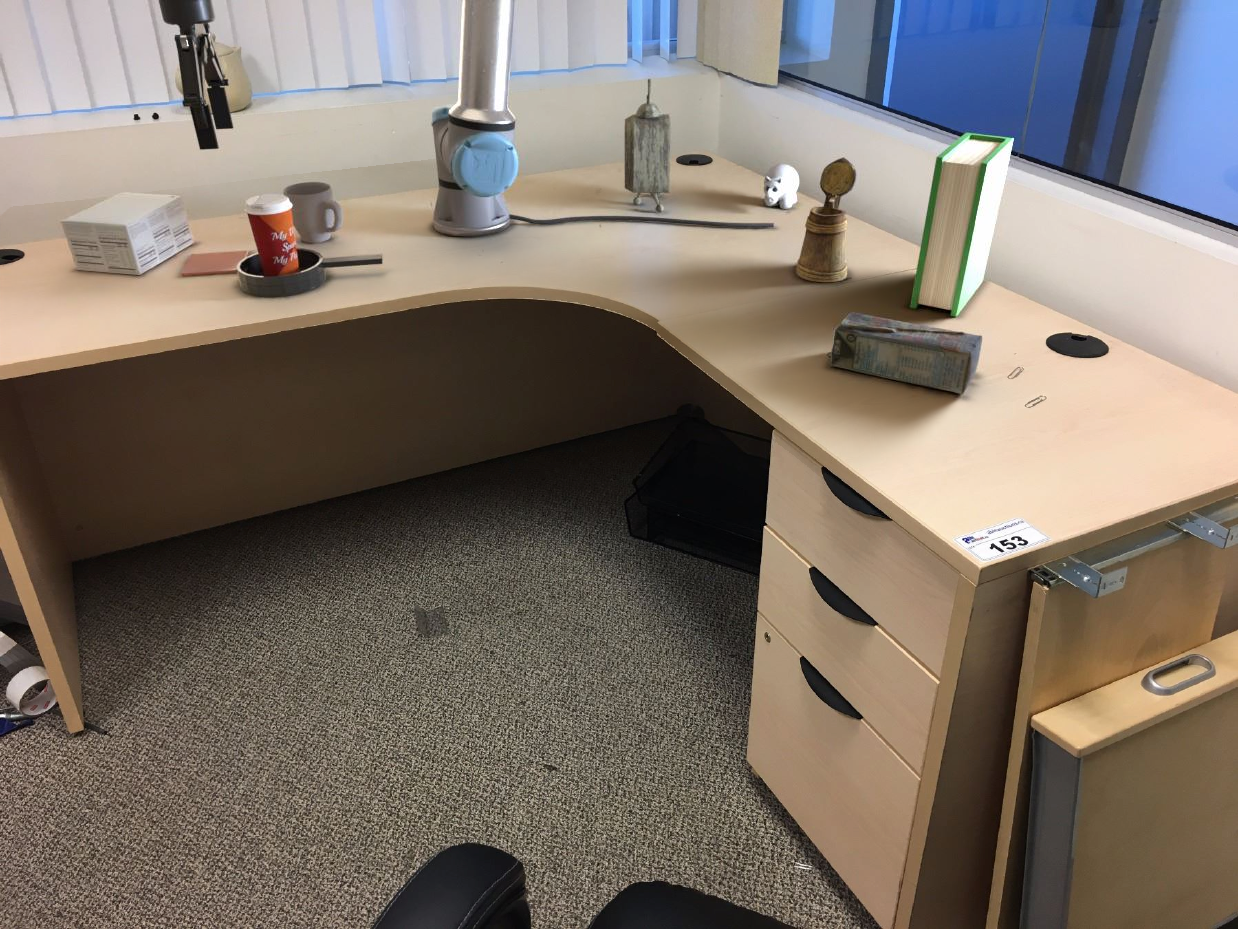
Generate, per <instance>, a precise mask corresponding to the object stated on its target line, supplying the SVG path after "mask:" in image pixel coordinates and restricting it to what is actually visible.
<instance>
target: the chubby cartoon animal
mask: <svg viewBox="0 0 1238 929" xmlns="http://www.w3.org/2000/svg"><path fill="white" fill-rule="evenodd" d="M799 185H800V177H799V174H798V171H797V170H796V169H795V168H794V167H792V166H791V165H789V164H785V163H780V164H776V165H774V166H771V168H770V169H769V170H767V172H766V174H765V176H764V179H763V193H764V205H766V206H767V207H775V206H777V204H779V208H780V209H783V210H787V209H792V207H793V205H795V204H797V202H798V199H797V198H798V197H797V193H796V192H797V191H798V189H799Z"/></svg>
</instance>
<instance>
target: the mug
mask: <svg viewBox="0 0 1238 929" xmlns="http://www.w3.org/2000/svg"><path fill="white" fill-rule="evenodd" d="M282 192H283V195H285V196H287V197H288V198H289V201H290V202H291V203H292V205H293V206H292V208H291V211H292V219H293V226H294V230H296V232H297V234H299V237H300V238H301V241H303V242H304V243H308V244H317V243H322V242H326V241H328V240H330V239H331V234H332V233H335V232H337V231H339V230H340V229H341V228H342V225H343V220H344V215H343V210H342V207H341V205H340V204H339V202H338V201H336V200H334V194H333V189H332V186H331V184H329V183H326V182H319V181H307V182H298V183H294V184H291V185H288V186H286V187H285V188H284V189H283V191H282Z"/></svg>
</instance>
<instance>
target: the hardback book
mask: <svg viewBox="0 0 1238 929" xmlns="http://www.w3.org/2000/svg"><path fill="white" fill-rule="evenodd" d="M1014 140H1015V139H1014V137H1007V136H999V135H998V136H997V135H989V134H982V133H981V134H980V133H973V132H965V133H964V134H962V136H960V137H959V138H958V139H957V140H956V141H954V142H953V143H952V144H950V146H948V147H947V148H946V149H944V150H943V151H942V152H941V153H939V155H937V156H936V158H935V164H934V170H933V175H932V181H931V187H930V192H929V196H928V197H929V198H928V203H927V210H926V214H925V220H924V226H923V231H922V237H921V243H920V248H919V255H918V260H917V265H916V272H915V277H914V283H913V287H912V288H913V289H912V293H911V300H910V304H909V308H911V309H917V308H918V307H919V306H920V305H923V306H928V307H934V308H938V309H943V310H948V311H951V312H950V314H949V316H950V317H954V318H957V317H958V315H959V314H960V313H961V311H962V310H963V309H964V307H965V306H966V304H967V303H968V302H969V301H970V299H971V298H972V296H973V295H974V294H975V293H976V291H977V290H978V289H979V287H980V286H981V285H982V283H983V281H984V278H985V277H984V276H985V273H986V267H987V263H988V259H989V253H990V249H991V245H992V240H993V236H994V230H995V225H996V222H997V217H998V212H999V208H1000V203H1001V199H1002V194H1003V190H1004V185H1005V181H1006V176H1007V171H1008V166H1009V161H1010V158H1011V152H1012V149H1013V143H1014Z"/></svg>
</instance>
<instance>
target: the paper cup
mask: <svg viewBox="0 0 1238 929" xmlns="http://www.w3.org/2000/svg"><path fill="white" fill-rule="evenodd" d="M292 206H293V205H292V203H291V202H290V201H289V198H288V197H287V196H285V195H284V194H279V193H265V194H260V195H259V194H258V195H253V196H251V197H249V198H247V199H246V201H245V207H244V209H243V210H244V213H246V214H247V218H248V222H249V224H250V229H251V232H252V235H253V240H254V243H255V247H256V250H257V253H258V254H259V257H260V261H261V264H262V268H263V271H264V275H265V276H282V275H288V274H293V273H297V272H299V264H298V256H297V249H296V248H297V242H296V235H295V227H294V225H293V219H292V211H291V208H292Z"/></svg>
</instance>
